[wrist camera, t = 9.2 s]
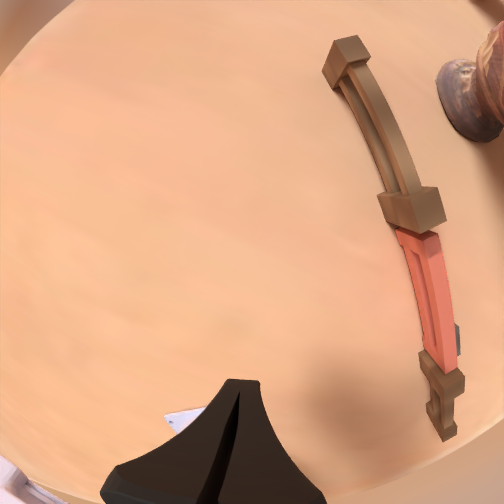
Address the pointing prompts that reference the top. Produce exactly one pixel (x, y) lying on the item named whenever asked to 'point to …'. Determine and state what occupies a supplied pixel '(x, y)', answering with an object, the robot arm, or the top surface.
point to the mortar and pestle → (476, 90)
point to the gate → (431, 294)
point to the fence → (396, 194)
